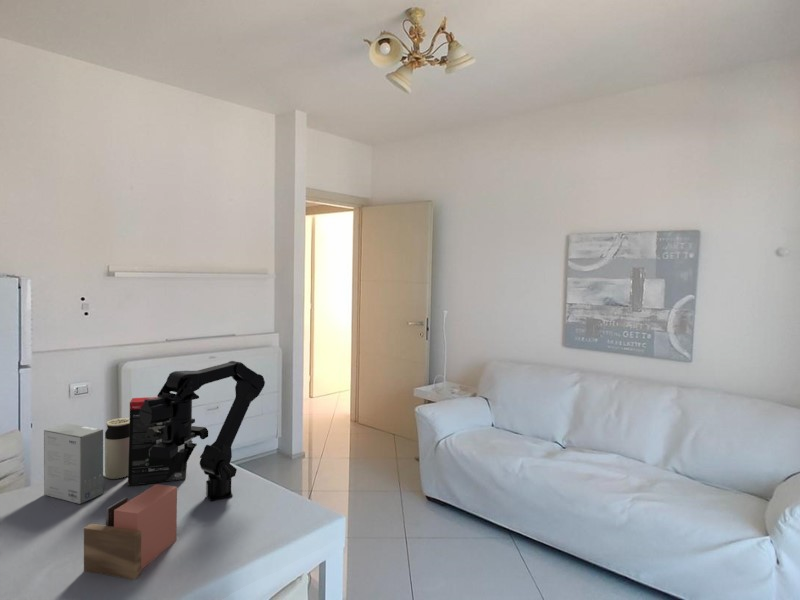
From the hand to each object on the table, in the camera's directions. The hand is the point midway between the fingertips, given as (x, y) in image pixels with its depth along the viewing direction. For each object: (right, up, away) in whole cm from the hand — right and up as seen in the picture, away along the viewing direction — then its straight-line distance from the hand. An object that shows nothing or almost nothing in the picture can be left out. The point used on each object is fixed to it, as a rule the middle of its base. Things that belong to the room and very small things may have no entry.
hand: (180, 471), depth 135 cm
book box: (+1, -13, -19) cm, 23 cm away
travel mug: (-31, -10, +24) cm, 41 cm away
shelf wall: (-3, -13, -27) cm, 30 cm away
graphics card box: (-17, -11, +21) cm, 29 cm away
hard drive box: (-36, -11, +9) cm, 39 cm away
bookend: (-6, -13, -22) cm, 26 cm away
